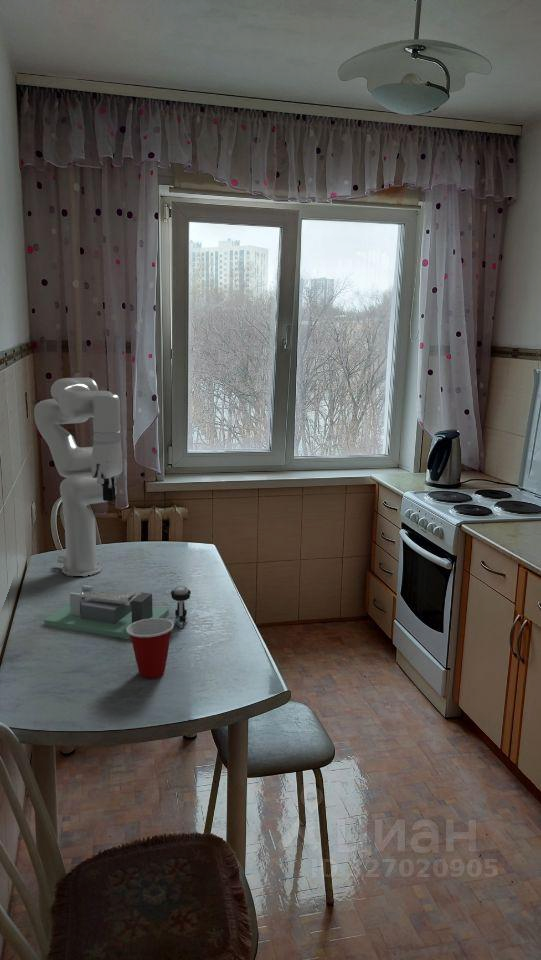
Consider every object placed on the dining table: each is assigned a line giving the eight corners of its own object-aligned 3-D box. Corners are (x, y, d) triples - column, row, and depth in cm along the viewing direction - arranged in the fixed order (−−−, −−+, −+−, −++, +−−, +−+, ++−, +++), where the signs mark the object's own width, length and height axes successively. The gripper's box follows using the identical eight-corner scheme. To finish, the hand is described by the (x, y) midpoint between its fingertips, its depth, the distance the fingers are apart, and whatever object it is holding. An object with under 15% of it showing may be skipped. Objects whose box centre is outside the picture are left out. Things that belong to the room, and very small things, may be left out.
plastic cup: (153, 657, 171) (152, 611, 168) (184, 671, 164) (183, 624, 162) (117, 674, 163) (116, 625, 160) (148, 689, 156) (147, 639, 153)
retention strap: (75, 599, 192) (74, 592, 191) (84, 594, 196) (83, 586, 195) (129, 606, 187) (129, 598, 186) (137, 600, 191) (137, 592, 190)
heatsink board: (44, 624, 188) (42, 596, 186) (81, 600, 205) (80, 574, 203) (137, 640, 180) (137, 611, 178) (169, 614, 197) (168, 587, 195)
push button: (190, 629, 187) (190, 593, 185) (170, 629, 187) (170, 594, 184) (190, 619, 194) (190, 584, 191) (171, 619, 193) (170, 585, 191)
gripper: (109, 433, 207) (111, 493, 211) (81, 440, 193) (83, 505, 197) (132, 434, 205) (133, 495, 209) (105, 442, 191) (107, 507, 195)
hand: (109, 500), depth 203 cm, fingers closed
